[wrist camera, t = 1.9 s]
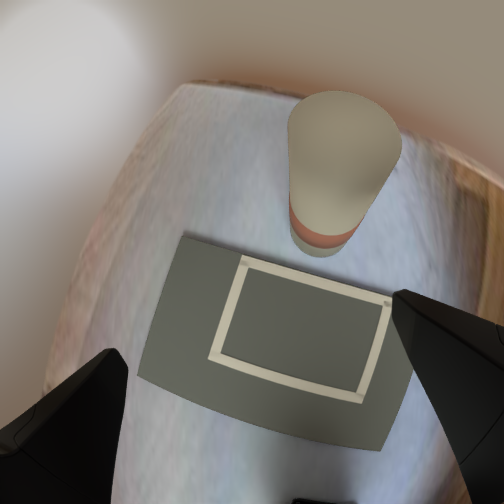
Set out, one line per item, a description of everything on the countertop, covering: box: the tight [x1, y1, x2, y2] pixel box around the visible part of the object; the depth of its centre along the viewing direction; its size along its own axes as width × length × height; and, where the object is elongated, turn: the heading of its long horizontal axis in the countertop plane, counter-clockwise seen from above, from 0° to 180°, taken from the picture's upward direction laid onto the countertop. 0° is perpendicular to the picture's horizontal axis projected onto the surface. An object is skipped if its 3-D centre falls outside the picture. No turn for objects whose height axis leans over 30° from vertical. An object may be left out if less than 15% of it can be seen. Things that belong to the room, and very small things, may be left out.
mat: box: [137, 236, 414, 451], centre depth 21 cm, size 22×13×1 cm, turn 72°
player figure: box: [288, 91, 402, 258], centre depth 17 cm, size 5×5×13 cm
